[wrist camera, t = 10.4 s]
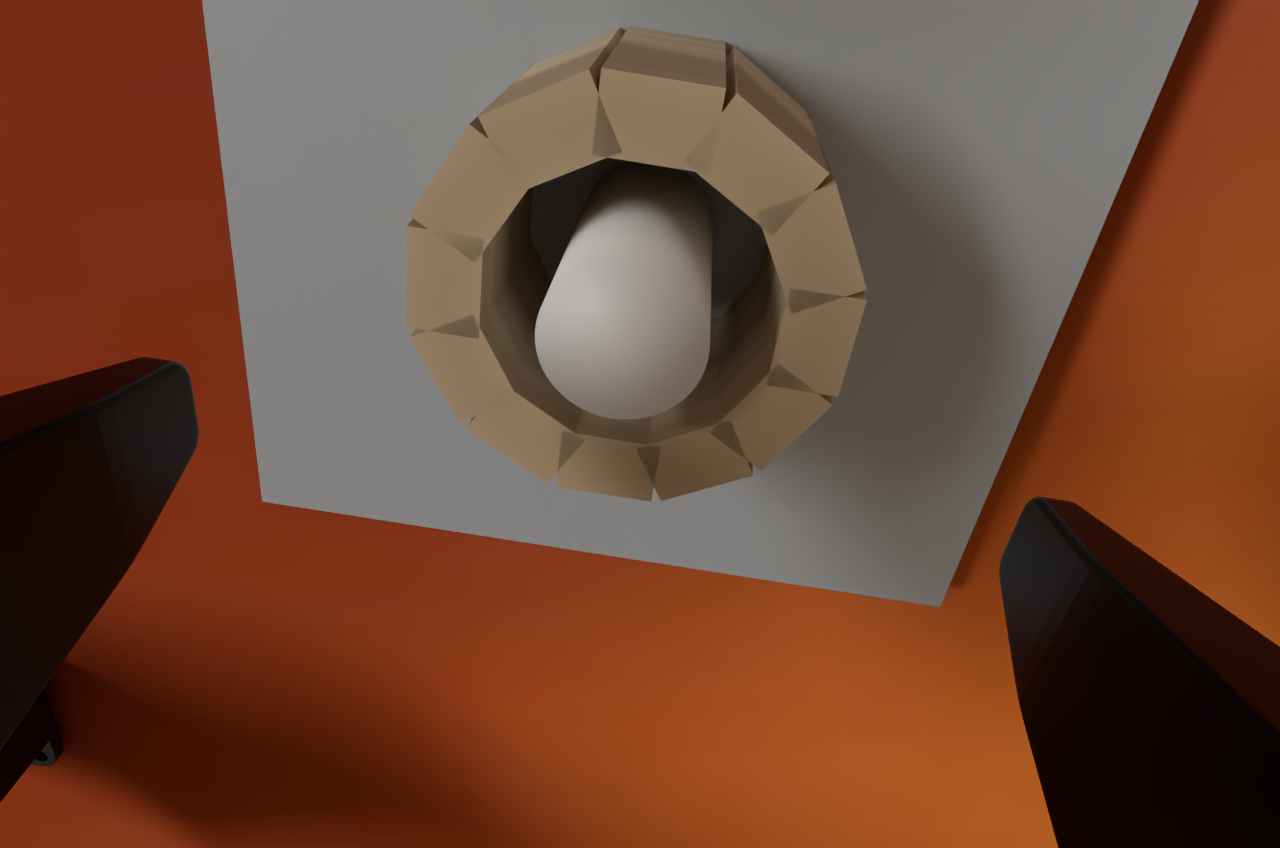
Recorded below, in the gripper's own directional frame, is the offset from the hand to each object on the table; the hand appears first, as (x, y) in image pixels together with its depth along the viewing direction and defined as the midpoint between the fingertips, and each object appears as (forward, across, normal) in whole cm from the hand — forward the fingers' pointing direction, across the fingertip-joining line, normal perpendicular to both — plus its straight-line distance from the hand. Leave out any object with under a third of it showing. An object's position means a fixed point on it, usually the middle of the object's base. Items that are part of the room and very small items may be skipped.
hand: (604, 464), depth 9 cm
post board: (+9, 0, 0) cm, 9 cm away
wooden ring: (+8, 0, 0) cm, 8 cm away
